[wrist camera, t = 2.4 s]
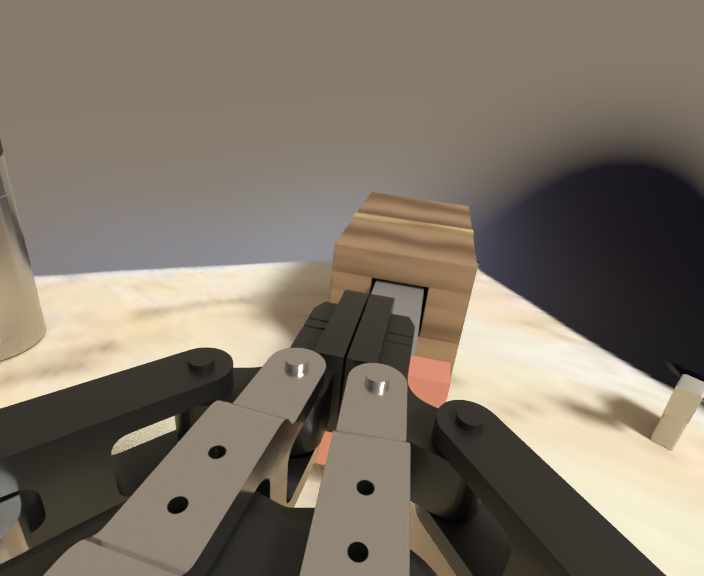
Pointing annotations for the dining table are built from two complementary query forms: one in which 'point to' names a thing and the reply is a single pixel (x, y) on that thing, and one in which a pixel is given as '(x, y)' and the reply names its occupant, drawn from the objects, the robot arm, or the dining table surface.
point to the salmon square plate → (424, 373)
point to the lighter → (678, 411)
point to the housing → (412, 262)
